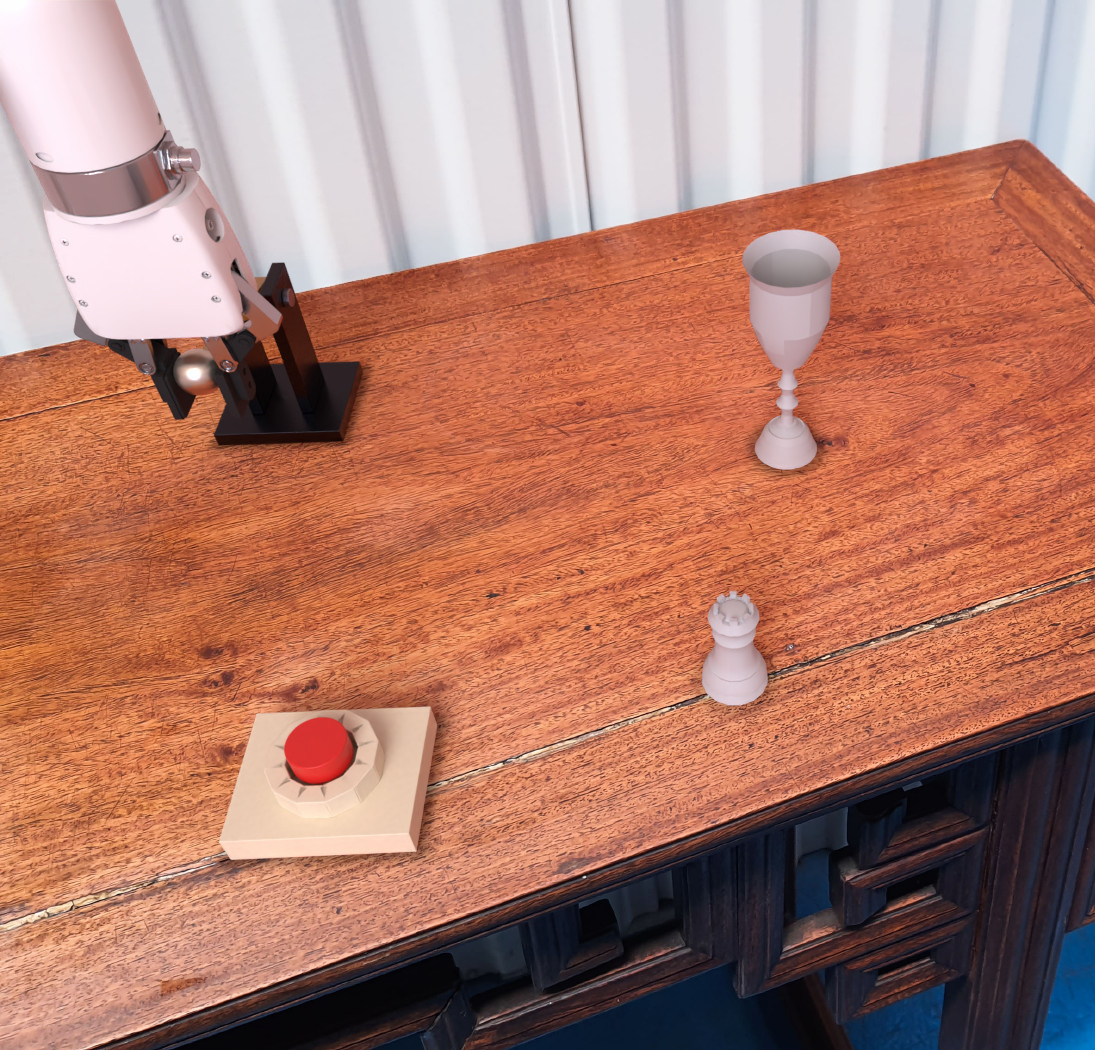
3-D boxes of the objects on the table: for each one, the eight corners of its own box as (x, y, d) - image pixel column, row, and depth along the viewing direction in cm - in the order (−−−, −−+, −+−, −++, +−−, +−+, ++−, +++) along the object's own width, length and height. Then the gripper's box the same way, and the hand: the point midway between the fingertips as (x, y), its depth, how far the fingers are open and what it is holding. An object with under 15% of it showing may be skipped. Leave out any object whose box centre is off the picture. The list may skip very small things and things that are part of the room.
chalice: (767, 409, 98) (770, 220, 85) (842, 433, 96) (856, 243, 83) (728, 463, 93) (724, 272, 80) (805, 489, 91) (814, 298, 78)
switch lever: (221, 403, 80) (208, 361, 78) (174, 404, 80) (159, 362, 78) (283, 309, 92) (273, 271, 90) (242, 310, 92) (231, 272, 90)
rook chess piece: (761, 714, 77) (762, 639, 71) (695, 704, 77) (690, 629, 71) (773, 660, 80) (774, 584, 74) (709, 651, 80) (705, 574, 74)
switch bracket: (342, 441, 95) (298, 312, 86) (218, 445, 95) (160, 316, 85) (363, 371, 101) (323, 244, 92) (246, 375, 101) (194, 247, 91)
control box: (230, 860, 69) (207, 826, 67) (266, 732, 76) (247, 696, 73) (416, 852, 70) (402, 818, 67) (437, 725, 76) (425, 689, 73)
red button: (286, 785, 69) (277, 769, 68) (299, 734, 71) (291, 717, 70) (347, 783, 69) (340, 767, 68) (358, 731, 71) (351, 715, 70)
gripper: (265, 134, 72) (343, 368, 85) (-6, 142, 71) (114, 376, 85) (234, 199, 67) (321, 437, 80) (-59, 207, 66) (78, 446, 80)
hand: (214, 403), depth 82 cm, fingers closed on switch lever, 3 cm apart
